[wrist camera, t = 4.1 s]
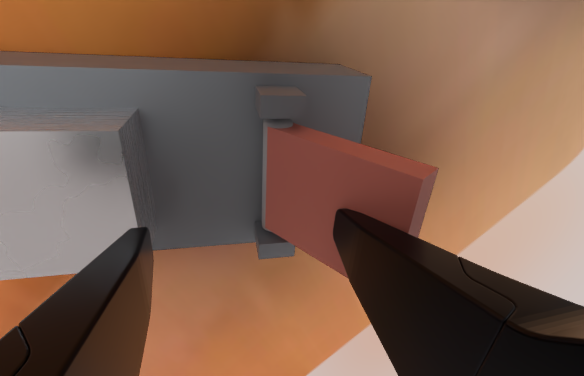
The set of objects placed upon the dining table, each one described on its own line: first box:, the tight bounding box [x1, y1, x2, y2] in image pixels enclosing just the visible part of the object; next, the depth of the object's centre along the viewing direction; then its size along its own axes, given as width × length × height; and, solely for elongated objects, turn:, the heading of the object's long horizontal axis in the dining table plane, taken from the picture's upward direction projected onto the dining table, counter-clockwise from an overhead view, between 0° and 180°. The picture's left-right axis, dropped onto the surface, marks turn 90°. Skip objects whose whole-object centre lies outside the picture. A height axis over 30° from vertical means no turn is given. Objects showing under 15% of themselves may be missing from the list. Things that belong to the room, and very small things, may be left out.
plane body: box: [0, 51, 372, 259], centre depth 12 cm, size 17×7×6 cm, turn 87°
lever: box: [262, 119, 439, 278], centre depth 10 cm, size 1×4×6 cm
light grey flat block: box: [0, 107, 158, 280], centre depth 10 cm, size 6×5×2 cm
